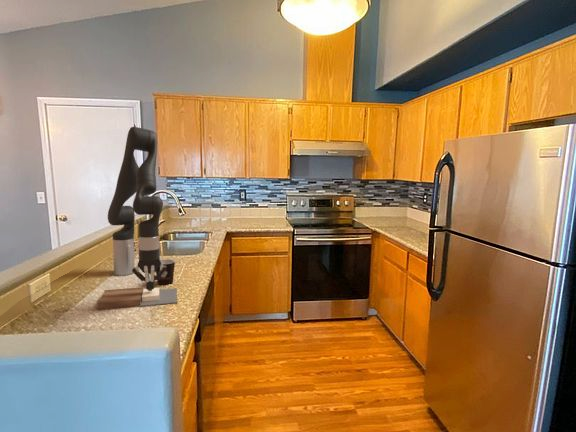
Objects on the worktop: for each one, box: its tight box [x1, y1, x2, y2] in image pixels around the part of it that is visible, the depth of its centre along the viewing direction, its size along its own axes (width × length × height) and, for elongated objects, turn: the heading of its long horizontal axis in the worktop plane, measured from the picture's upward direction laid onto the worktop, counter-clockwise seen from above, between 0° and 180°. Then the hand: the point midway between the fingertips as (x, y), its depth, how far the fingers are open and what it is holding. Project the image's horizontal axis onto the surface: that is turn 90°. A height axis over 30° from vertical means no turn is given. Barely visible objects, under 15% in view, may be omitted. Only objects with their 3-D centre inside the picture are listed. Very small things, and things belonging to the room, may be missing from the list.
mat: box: [139, 287, 178, 308], centre depth 129 cm, size 16×13×1 cm
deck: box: [96, 286, 144, 311], centre depth 124 cm, size 14×14×2 cm
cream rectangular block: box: [142, 287, 160, 302], centre depth 128 cm, size 9×6×2 cm, turn 21°
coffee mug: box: [149, 258, 176, 287], centre depth 146 cm, size 12×9×10 cm
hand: (150, 290), depth 127 cm, fingers closed
